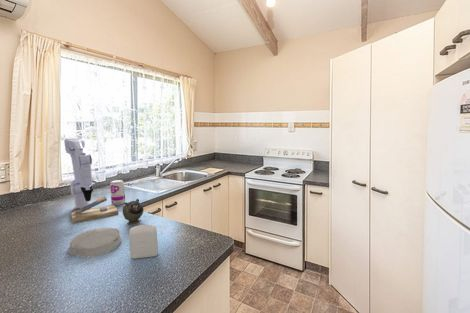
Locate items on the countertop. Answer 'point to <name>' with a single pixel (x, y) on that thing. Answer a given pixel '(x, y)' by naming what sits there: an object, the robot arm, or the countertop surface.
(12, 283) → the countertop surface
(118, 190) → the supplement can
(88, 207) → the latch bar
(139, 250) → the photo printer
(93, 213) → the latch board
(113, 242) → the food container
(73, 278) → the countertop surface
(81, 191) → the robot arm
